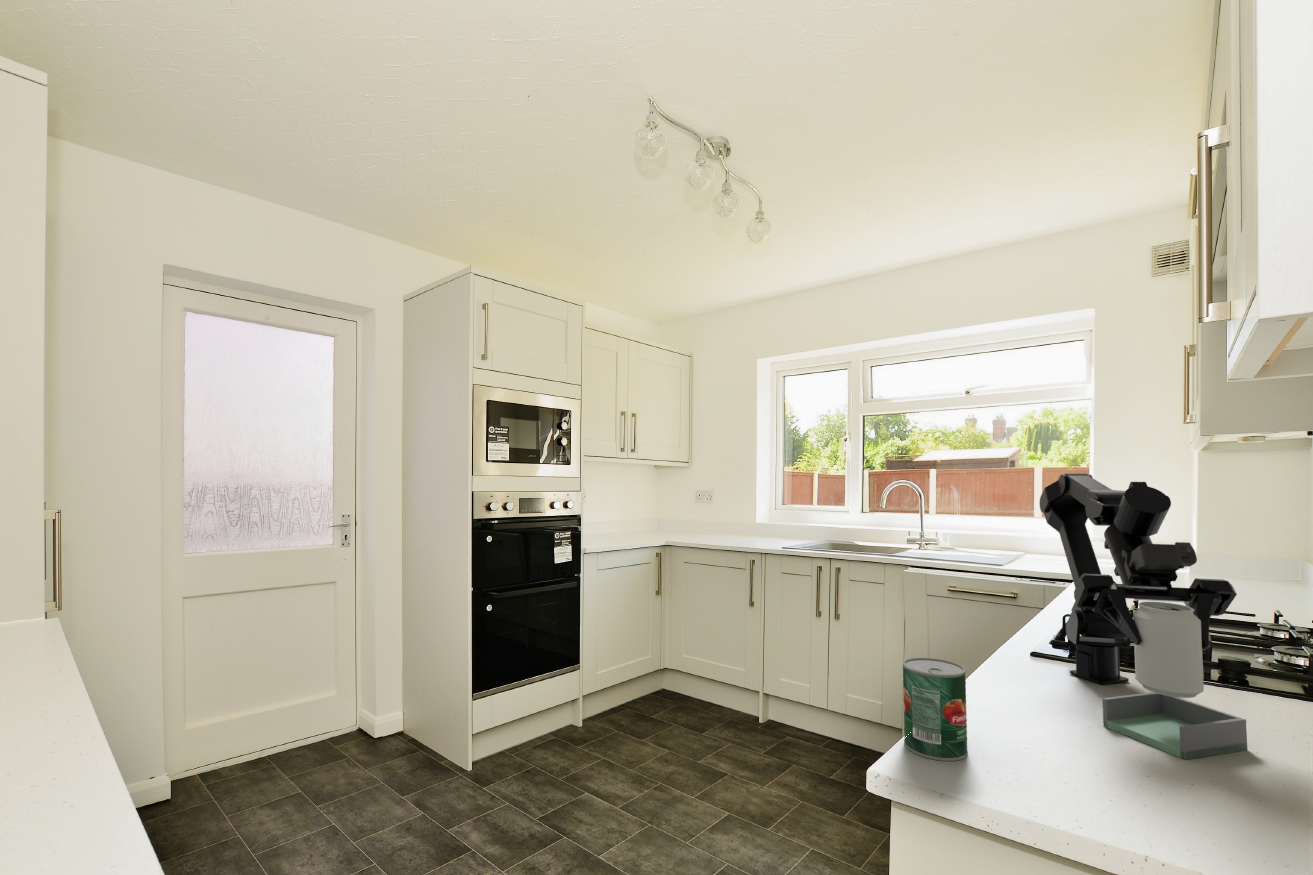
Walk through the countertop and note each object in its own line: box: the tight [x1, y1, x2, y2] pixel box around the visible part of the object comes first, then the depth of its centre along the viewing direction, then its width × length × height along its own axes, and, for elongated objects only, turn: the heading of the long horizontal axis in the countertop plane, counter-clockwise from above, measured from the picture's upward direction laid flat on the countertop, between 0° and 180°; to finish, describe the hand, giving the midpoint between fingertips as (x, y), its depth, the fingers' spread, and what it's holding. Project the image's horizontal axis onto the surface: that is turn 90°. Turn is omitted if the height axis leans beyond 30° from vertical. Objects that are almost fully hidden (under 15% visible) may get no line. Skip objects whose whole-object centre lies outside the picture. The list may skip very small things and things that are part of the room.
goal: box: [1101, 691, 1248, 761], centre depth 88 cm, size 11×11×4 cm
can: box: [1132, 601, 1205, 699], centre depth 89 cm, size 8×8×12 cm
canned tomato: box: [901, 657, 969, 762], centre depth 85 cm, size 8×8×11 cm
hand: (1171, 645), depth 87 cm, fingers closed on can, 7 cm apart
